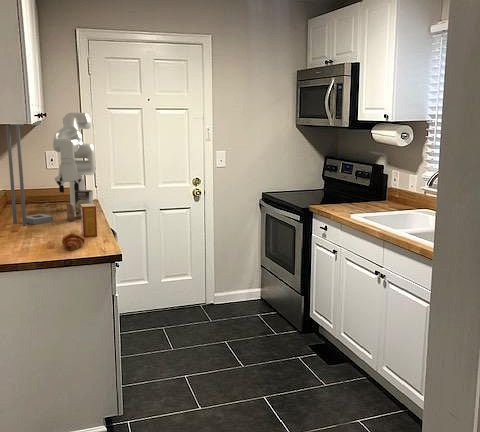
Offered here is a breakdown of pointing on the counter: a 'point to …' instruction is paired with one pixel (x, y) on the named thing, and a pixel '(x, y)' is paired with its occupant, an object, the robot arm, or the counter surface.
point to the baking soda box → (88, 220)
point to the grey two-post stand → (19, 172)
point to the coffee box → (82, 199)
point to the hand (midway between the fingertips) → (69, 191)
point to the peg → (70, 212)
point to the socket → (39, 219)
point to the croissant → (72, 241)
